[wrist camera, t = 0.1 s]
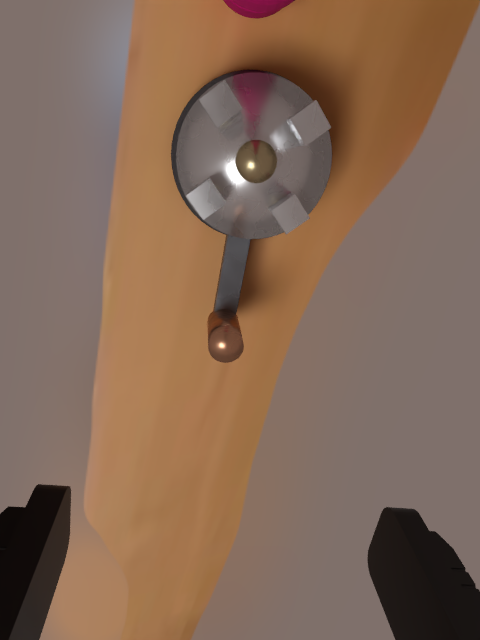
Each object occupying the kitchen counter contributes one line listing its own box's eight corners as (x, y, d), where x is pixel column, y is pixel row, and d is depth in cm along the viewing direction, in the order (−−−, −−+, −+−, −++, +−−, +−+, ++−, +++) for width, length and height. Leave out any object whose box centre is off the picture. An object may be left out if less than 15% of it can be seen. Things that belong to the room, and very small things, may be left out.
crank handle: (188, 61, 31) (186, 45, 25) (339, 95, 32) (366, 86, 27) (156, 322, 38) (149, 352, 32) (281, 339, 39) (293, 371, 34)
